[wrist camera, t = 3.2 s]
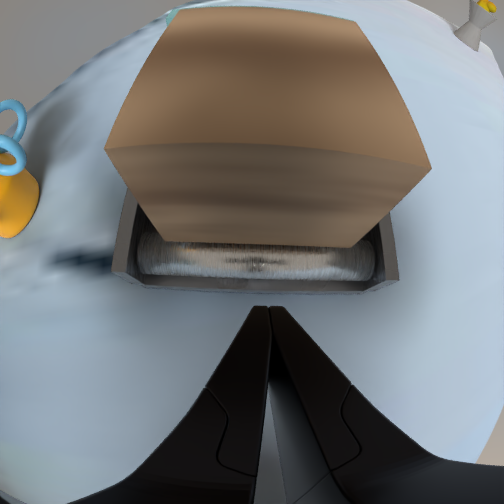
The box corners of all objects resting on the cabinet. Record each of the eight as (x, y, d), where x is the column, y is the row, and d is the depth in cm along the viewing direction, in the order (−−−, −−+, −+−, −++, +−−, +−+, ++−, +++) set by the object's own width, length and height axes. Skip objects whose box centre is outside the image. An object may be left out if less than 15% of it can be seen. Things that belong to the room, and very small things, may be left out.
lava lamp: (454, 36, 37) (493, -45, 4) (451, 29, 40) (485, -46, 7) (480, 55, 36) (522, -22, 3) (475, 46, 39) (512, -25, 6)
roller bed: (367, 293, 16) (399, 280, 12) (137, 287, 15) (111, 271, 12) (336, 101, 21) (347, 69, 18) (179, 93, 21) (172, 60, 17)
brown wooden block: (350, 247, 13) (431, 168, 6) (164, 241, 13) (103, 148, 6) (327, 107, 16) (355, 22, 9) (192, 100, 16) (179, 9, 9)
